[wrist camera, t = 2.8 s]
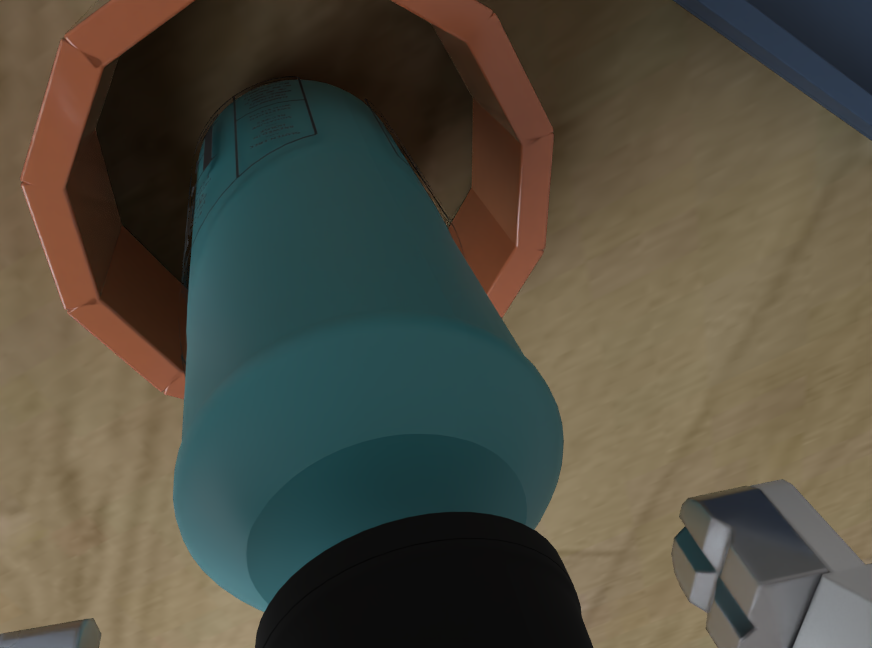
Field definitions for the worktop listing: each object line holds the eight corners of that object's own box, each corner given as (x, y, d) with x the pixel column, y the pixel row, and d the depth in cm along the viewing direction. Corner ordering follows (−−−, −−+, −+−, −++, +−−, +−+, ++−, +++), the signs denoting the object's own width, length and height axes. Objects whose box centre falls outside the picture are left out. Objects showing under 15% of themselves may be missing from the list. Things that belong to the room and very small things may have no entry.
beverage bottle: (184, 55, 21) (41, 673, 5) (401, 61, 23) (823, 544, 7) (204, 251, 25) (158, 997, 8) (392, 244, 26) (658, 860, 10)
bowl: (15, 262, 24) (-30, 346, 19) (153, -192, 18) (132, -208, 14) (388, 376, 30) (414, 457, 26) (572, 60, 24) (642, 99, 20)
